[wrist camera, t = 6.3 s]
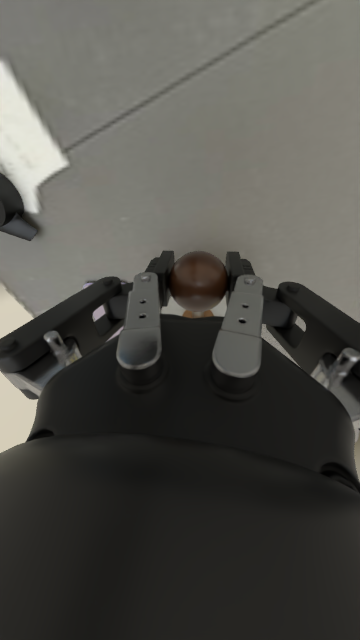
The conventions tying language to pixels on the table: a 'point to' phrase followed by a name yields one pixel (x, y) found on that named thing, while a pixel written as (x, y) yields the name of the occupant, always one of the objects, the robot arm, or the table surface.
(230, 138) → the table surface
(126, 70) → the table surface
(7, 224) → the black winged disc
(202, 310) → the towel stand
